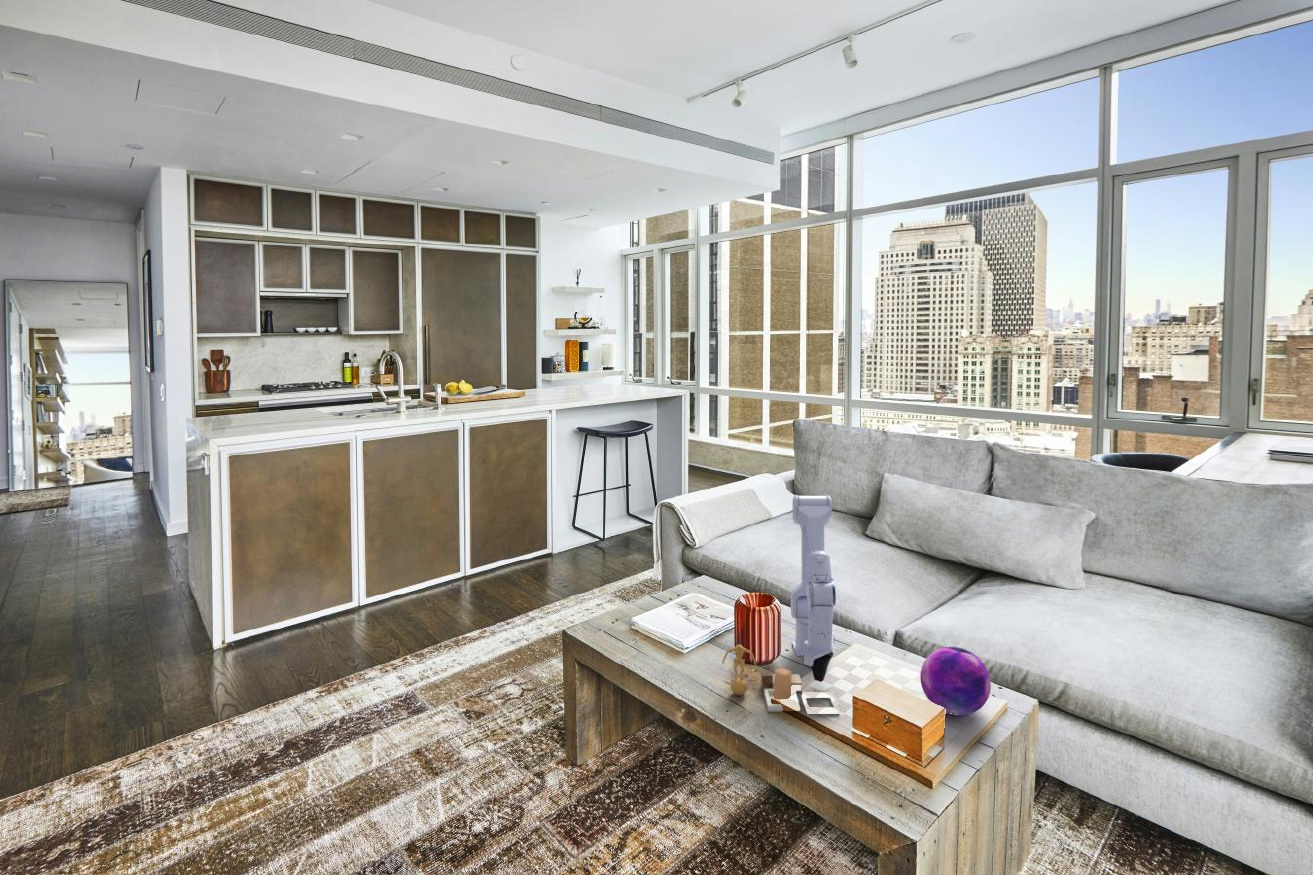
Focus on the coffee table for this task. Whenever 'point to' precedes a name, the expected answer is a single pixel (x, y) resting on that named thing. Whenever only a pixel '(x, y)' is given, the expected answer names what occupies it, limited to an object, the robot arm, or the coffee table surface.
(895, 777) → the coffee table surface
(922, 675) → the decorative orb
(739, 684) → the figurine
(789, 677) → the dowel
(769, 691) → the tray
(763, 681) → the brown rectangular block
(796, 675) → the cream rectangular block
